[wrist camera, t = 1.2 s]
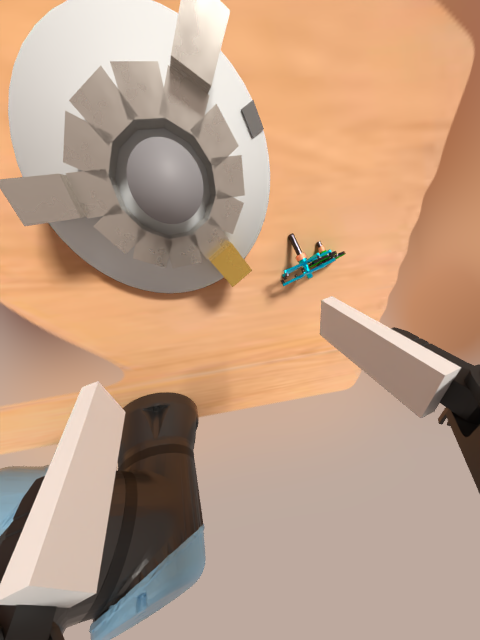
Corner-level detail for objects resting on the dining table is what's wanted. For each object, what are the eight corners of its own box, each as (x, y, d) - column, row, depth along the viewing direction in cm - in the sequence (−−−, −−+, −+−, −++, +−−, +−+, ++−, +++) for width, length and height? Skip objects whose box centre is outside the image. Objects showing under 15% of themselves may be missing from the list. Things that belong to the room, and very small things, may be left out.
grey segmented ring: (174, 318, 29) (176, 335, 25) (11, 190, 18) (-28, 188, 14) (293, 213, 27) (313, 216, 23) (190, -4, 16) (199, -65, 12)
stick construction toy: (275, 294, 32) (310, 276, 25) (256, 254, 32) (286, 224, 25) (324, 271, 37) (365, 251, 30) (308, 236, 37) (345, 208, 30)
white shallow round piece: (170, 320, 31) (172, 347, 25) (-52, 150, 17) (-161, 126, 11) (295, 209, 28) (328, 213, 23) (156, -93, 14) (153, -280, 9)
